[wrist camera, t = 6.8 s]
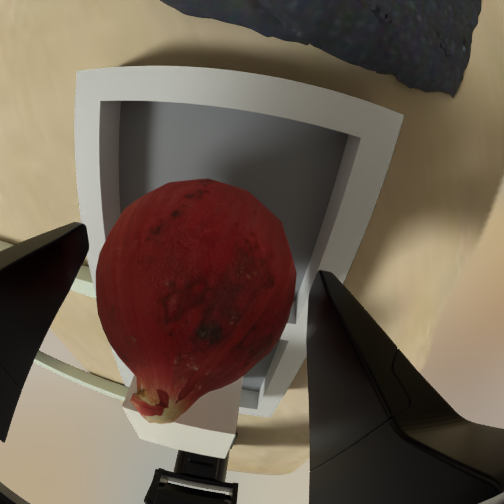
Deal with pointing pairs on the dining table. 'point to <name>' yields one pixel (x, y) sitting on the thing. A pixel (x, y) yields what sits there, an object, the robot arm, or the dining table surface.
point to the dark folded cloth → (365, 32)
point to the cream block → (194, 422)
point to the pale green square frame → (81, 377)
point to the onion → (193, 291)
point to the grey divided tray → (237, 171)
